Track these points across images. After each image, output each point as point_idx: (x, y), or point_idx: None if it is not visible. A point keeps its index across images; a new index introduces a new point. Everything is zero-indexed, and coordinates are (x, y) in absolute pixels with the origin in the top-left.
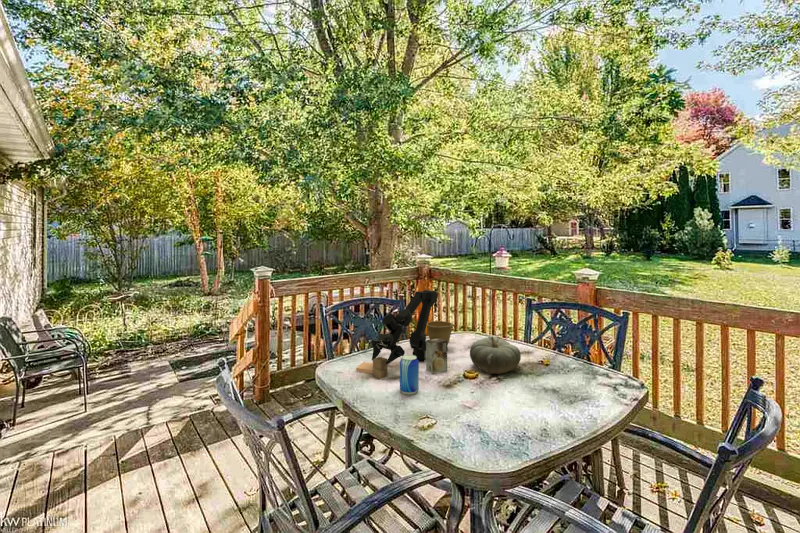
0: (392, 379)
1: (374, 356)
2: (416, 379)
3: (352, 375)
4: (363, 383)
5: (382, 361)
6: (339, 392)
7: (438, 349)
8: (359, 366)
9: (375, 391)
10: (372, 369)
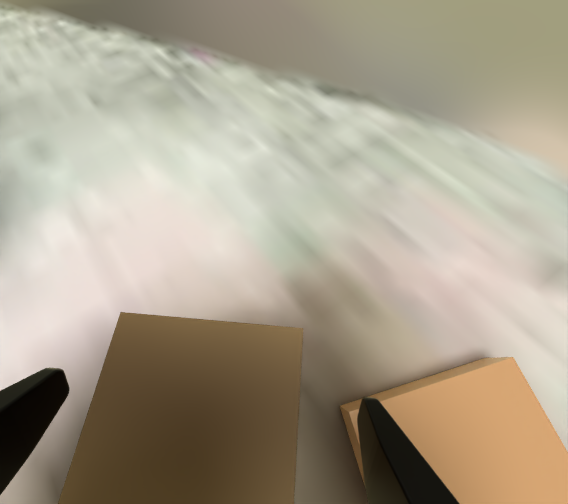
0: None
1: (385, 490)
2: None
3: (435, 278)
4: (269, 215)
5: (112, 371)
6: (297, 85)
7: None
8: (530, 415)
9: (137, 170)
10: None
